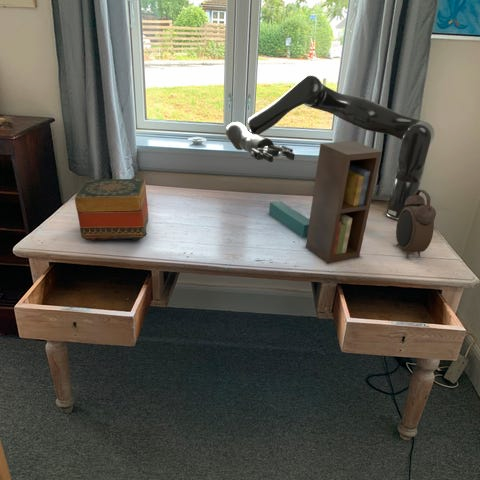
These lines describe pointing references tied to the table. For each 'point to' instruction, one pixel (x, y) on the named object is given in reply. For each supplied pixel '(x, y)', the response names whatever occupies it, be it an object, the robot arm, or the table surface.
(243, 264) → the table surface
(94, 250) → the table surface
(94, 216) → the decorative box
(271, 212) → the pencil box
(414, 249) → the alarm clock
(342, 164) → the bookcase
